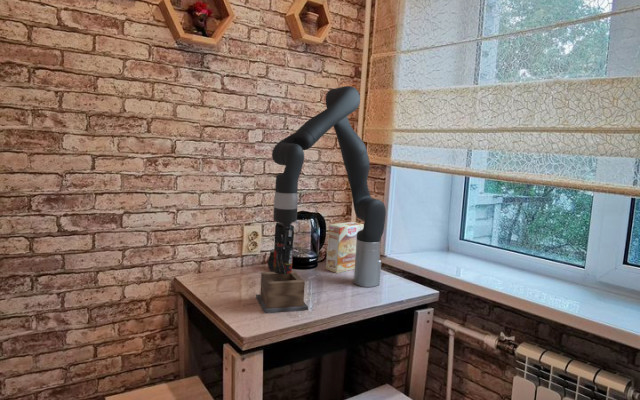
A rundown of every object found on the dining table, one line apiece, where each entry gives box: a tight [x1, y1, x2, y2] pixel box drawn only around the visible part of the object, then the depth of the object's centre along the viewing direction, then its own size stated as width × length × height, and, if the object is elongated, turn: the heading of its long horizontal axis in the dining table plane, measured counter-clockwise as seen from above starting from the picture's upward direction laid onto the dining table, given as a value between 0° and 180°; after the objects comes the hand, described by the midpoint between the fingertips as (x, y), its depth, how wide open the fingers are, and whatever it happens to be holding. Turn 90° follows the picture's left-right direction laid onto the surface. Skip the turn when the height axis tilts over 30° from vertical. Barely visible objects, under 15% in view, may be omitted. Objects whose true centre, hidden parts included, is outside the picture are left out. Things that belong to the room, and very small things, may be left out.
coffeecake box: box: [325, 221, 364, 274], centre depth 184 cm, size 15×7×20 cm, turn 132°
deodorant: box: [272, 224, 295, 274], centre depth 140 cm, size 6×6×15 cm
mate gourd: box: [267, 249, 274, 272], centre depth 178 cm, size 7×8×10 cm
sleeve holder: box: [255, 270, 309, 314], centre depth 141 cm, size 14×14×9 cm
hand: (283, 257), depth 140 cm, fingers closed on deodorant, 6 cm apart
